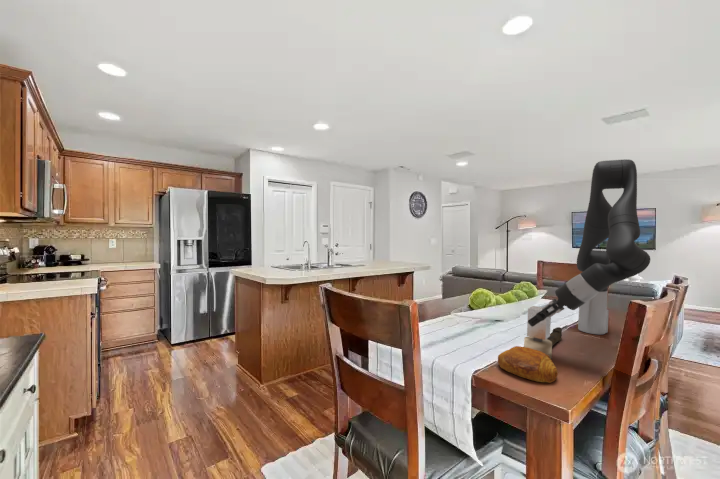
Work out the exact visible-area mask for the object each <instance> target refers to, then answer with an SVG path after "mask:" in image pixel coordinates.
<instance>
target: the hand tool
mask: <svg viewBox="0 0 720 479" xmlns="http://www.w3.org/2000/svg"><path fill="white" fill-rule="evenodd" d="M562 333H563V329H562V327H555V328H553V329H552V330H551V332H550V337H548V338H547V339H548V340H550V341H551V342H552V347H553V346H554V345H556V343H557V342H559V343H560V342H561V341H562V336H563V334H562Z"/></svg>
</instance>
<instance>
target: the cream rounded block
mask: <svg viewBox="0 0 720 479" xmlns="http://www.w3.org/2000/svg"><path fill="white" fill-rule="evenodd" d="M523 341H524V342H523V343H524V344H523V347H527V348H531V349H534V350H538V351H541V352H543V353H545V354H546V355H548V356H549V357H550V359H551V360H552V356H553V353H552V352H553V346H552V342H551V341H550V340H548V339H546V340H543V339H539V338H534V337H530V336H525V337H524V340H523Z"/></svg>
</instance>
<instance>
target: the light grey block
mask: <svg viewBox="0 0 720 479" xmlns="http://www.w3.org/2000/svg"><path fill="white" fill-rule="evenodd" d="M543 307H544V306H543ZM543 307H541V306H535V305H532V306H530V307H528V308H527V321H526V322H527V323H526V324H527V328H526V337H534V338H539V339H543V340H546V339H547V338H548V337H550V334H551V320H552V317H547V318H545V319H544V320H542V321H540V322H539V323H537V324H536V325H535V326H533V327H532V326H531V325H530V324H529V323H528V320H530V319H531V318H533V317H534V316H535V315H536V313H539V312H540V311H542V308H543ZM541 315H542V316H543V317H545V315H544V313H541Z"/></svg>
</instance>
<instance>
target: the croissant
mask: <svg viewBox="0 0 720 479" xmlns="http://www.w3.org/2000/svg"><path fill="white" fill-rule="evenodd" d="M497 363H498V366H499V367H500V369H501V370H504V371H506V372H508V373H509V374H513V375H515V376H518V377H520V378H524V379H527V380H528V381H535V382H537V383H549V384H551V383H554V382H555V381H556V380H557V377H558V375H559V374H558V373H559V372H558V369H557V367H556V365H555V364H554V362H553V360H552V358H551V359H550V357H549V356H548V355H546V354H545V353H543V352H541V351H538V350H534V349H531V348H527V347H524V346H519V345H516V346H513V347H511V348H509V349H507V350H504V351H503V352H501V353H499V354H498V356H497Z"/></svg>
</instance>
